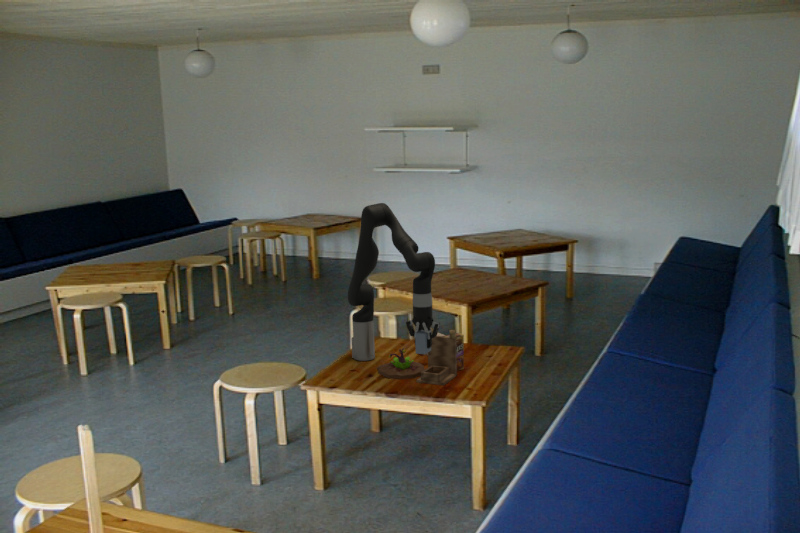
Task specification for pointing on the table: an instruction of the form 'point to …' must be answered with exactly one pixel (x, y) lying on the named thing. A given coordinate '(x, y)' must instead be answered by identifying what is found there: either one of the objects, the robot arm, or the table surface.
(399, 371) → the plant
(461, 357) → the candy box
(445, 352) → the chair
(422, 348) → the block
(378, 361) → the table surface
